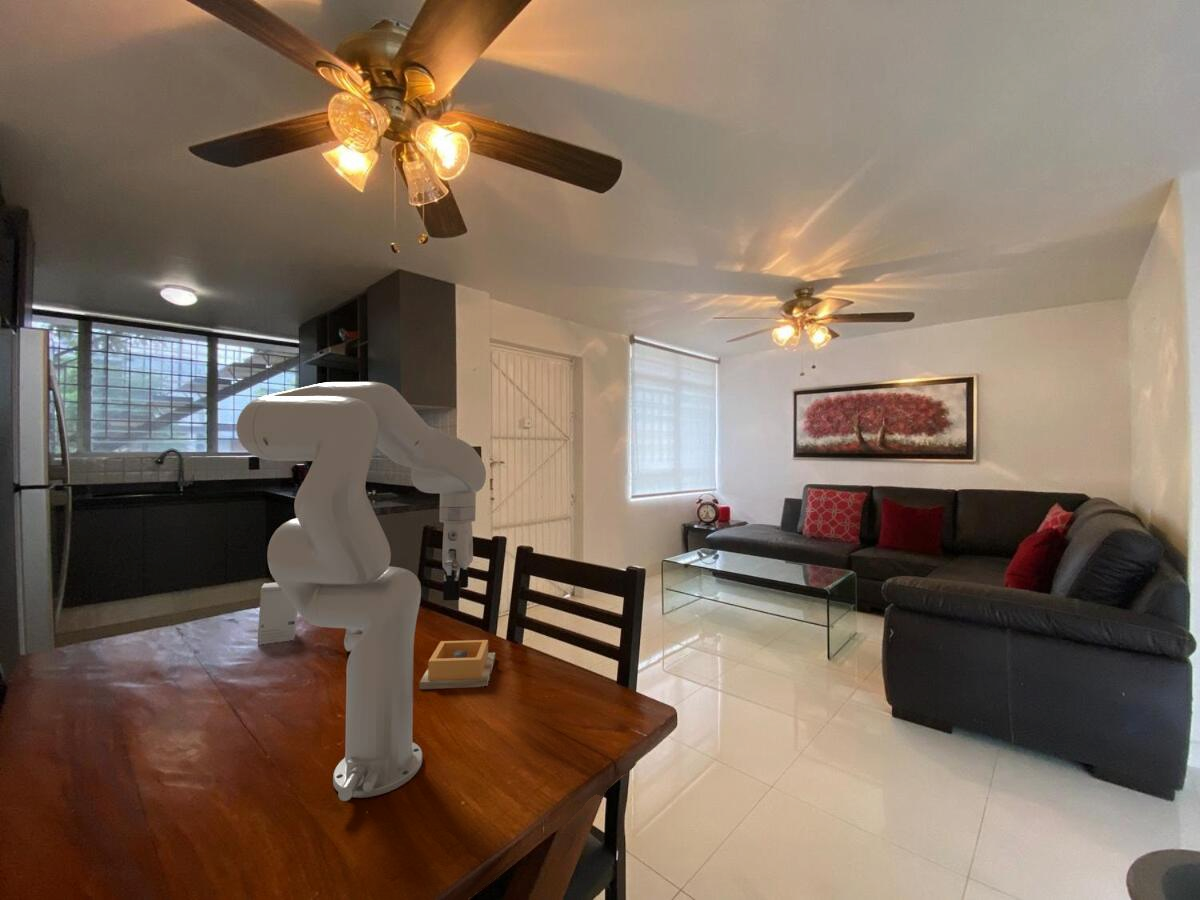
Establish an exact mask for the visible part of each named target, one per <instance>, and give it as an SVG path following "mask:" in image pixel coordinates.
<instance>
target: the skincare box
mask: <svg viewBox="0 0 1200 900" xmlns="http://www.w3.org/2000/svg"><path fill="white" fill-rule="evenodd" d="M259 599H260V600H259V601H260V602H259V614H258V615H259V616H258V630H257V631H258V632H257V643H256V644H257V646H262V645H261V644H264V645H268V644H267V643H271V644H276V643H275V642H278V643H282V642H283V641H284V642H291V641H290V640H292V641H295V637H296V634H297V633H296V632H297V618H298V611H297V610H296V608H295V607H294V606H293V604H292V603H291V602H290V600H289V599H288V598H287V596H286V595H285V594H284V592H283V591H282V590H281V588H280V587H279V586H278V584H277V583H276V581H275V582H268V583H267V582H265V583H263V584H262V586H261V587H260V598H259Z"/></svg>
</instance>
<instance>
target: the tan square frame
mask: <svg viewBox="0 0 1200 900" xmlns="http://www.w3.org/2000/svg"><path fill="white" fill-rule="evenodd" d="M460 650H464V651H467V658H453V653H454V652H456V651H460ZM488 653H489V640H488V639H476V640H475V639H473V640H470V639H469V640H468V639H466V640H441V641H440V642H439V643H438V645H437V647H436V648H435V650H434V651H433V653H432V655H431V657H430V658H429V660H428V662H427V663H428V665H427V666H428V667H427V669H428V680H446V679H473V678H481V676H482V673H483V670H484V667H485V664H486V661H487V658H488Z"/></svg>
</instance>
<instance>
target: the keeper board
mask: <svg viewBox="0 0 1200 900" xmlns="http://www.w3.org/2000/svg"><path fill="white" fill-rule="evenodd" d="M453 658H467V651H464V650H460V651H456V652H454V653H453ZM495 661H496V652H488V658H487V661H486V664H485V667H484V670H483V673H482V676H481V678H473V679H446V680H428V668H427V669H426V670H425V672H424V674H423V675H422V678H421V679H420V681H419V690H433V689H434V690H435V689H438V690H440V689H456V688H457V689H459V688H483V687H484V686H487V687H488V685H489V682H488V681H490V678H491V675H490V674H492V670H493V667H494V663H495ZM481 686H482V687H481Z"/></svg>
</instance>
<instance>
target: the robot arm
mask: <svg viewBox="0 0 1200 900" xmlns="http://www.w3.org/2000/svg"><path fill="white" fill-rule="evenodd" d="M236 434H237V435H236V436H237V438H238V441H239V443H240V444H241V445H242V447H243V448H244V449H245V450H246V451H247V452H248V453H249V454H251V455H253V456H254V457H257V458H258V459H259V458H260V459H261V460H266V461H275V462H276V461H279V462H282V461H283V462H285V461H287V462H289V461H291V462H296V461H297V462H312V463H311V465H310V468H309V470H308V472H307V474H306V475H305V478H304V480H303V481H302V483H301V485H300V486H299V488H298V491H297V492H296V495H295V499H294V504H293V507H294V515H295V518H292V519H289V520H288V521H285V522H284V523H282V524H281V525H280V526H279V527H278V528H277V529H276V530H275V531H274V532H273V534H272V536H271V538H270V540H269V543H268V546H267V551H266V552H267V554H266V556H267V565H268V566H267V567H268V569H269V572H270V575H271V576H272V578H273V579H274V581H275V582H276V583H277V584H278V586H279V587H280V588H281V590H282V591H283V592H284V594H285V595H286V596H287V598H288V599H289V600H290V602H291V603H292V604H293V606H294V607H295V608H296V610H297V613H298V614H299V615H300V616H301V617H302V618H303V619H304V620H305V621H306V622H308V623H309V624H311V625H313V626H316V627H322V628H330V629H346V628H348V629H357V630H362V631H363V635H362V637H361V639H360V640H359V642H358V643H357V644H356V646H355V647H354V648H353V650H352V651H351V652H350V653H349V655H348V659H347V662H346V673H345V674H346V675H345V677H346V685H345V686H346V689H345V690H346V691H345V692H346V695H345V696H346V697H345V698H346V699H345V750H344V752H345V755H344V758H343V759H341V760H340V761H339V763H338V764H337V765H336V767H335V768H334V771H333V776H332V783H333V787H334V789H335V790H336V791H337V792H338V793H337V796H338V799H339V800H340V801H343V802H348V801H349V800H350V799H352V798H360V799H361V798H371V797H376V796H380V795H383V794H386V793H389V792H392V791H393V790H396V789H398V788H399V787H401V786H403V785H405V784H406V783H408V782H409V781H410V780H411V779H412V778H413V777H414V776H416V774H417V773H418V772H419V770H420V769H421V766H422V763H423V751H422V748H421V747H420V746H419V745H418V744H417V743H415V742H413V720H414V718H413V717H414V716H413V715H414V714H413V713H414V709H413V707H414V654H415V653H414V651H415V650H414V649H415V648H414V647H415V646H414V644H415V632H416V625H417V620H418V619H417V618H418V615H419V609H420V604H421V597H422V585H421V582H420V580H419V577H417V575H416V574H415V573H414V572H412V571H411V570H408V569H406V568H402V567H397V566H392V565H391V566H390V564H391V557H392V552H391V547H390V543H389V541H388V539H387V536H386V534H385V531H384V530H383V528H382V526H381V523H380V521H379V519H378V517H377V515H376V513H375V511H374V509H373V506H372V505H371V502H370V500H369V497H368V494H367V490H366V484H367V483H366V482H367V477H368V472H369V469H370V466H371V463H372V462H371V461H372V458H373V455H374V453H375V449H376V448H377V449H378V451H380V452H382V454H384V455H385V456H386V457H387V458H388V459H390V460H391V461H392V462H393V463H396V464H397V465H400V466H403V467H407V468H410V469H411V473H410V476H411V481H412V484H413V485H414V487H415V488H416V489H417V490H418V491H420V492H422V493H426V494H439V520H438V521H439V522H440V523H443V531H442V533H443V535H442V552H441V553H442V555H441V556H442V569H444V574H443V575H444V576H443V589H442V590H443V591H442V592H443V593H442V594H443V595H442V596H443V597H442V599H443V600H444V601H459V600H460V598H461V597H460V593H461V591H460V589H465V588H468V587H469V566H471V563H472V562H473V560H474V541H473V540H474V539H473V523H474V522H476V512H477V511H476V509H477V508H476V505H477V501H476V499H477V498H476V497H477V492H479V491H481V490H482V489H483V487H484V485H485V483H486V480H487V470H486V466H485V463H484V461H483V459H482V457H481V456H480V455H479V453H478V452H477V451H476V449H474V447H473V446H472V445H470V443H468V442H467V441H464V440H463V439H460V438H458V437H456V436H453V435H452V434H449V433H447V432H444V431H442V430H440V429H437V428H435V427H433V426H429V425H428V424H427V423H426V422H425V420H424V419H423V418H422V417H421V416H420V415H419V414H418V413H417V411H416V410H415V409H414V408H413V407H412V406H411V405H410V403H408V401H407V400H406V399H405V398H404V397H403V396H402V395H401V394H400V392H398V390H397V389H396V388H394V387H393V386H391V385H389V384H388V383H383V382H377V381H330V382H322V383H317V384H312V385H308V386H303V387H299V388H294V389H290V390H286V391H281V392H277V393H271V394H267V395H263V396H260V397H257V398H255V399H253V400H252V401H249V403H248V404H247V405H245V407H244V408H243V409H242V410H241V411H240V414H239V416H238V418H237V422H236Z"/></svg>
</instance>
